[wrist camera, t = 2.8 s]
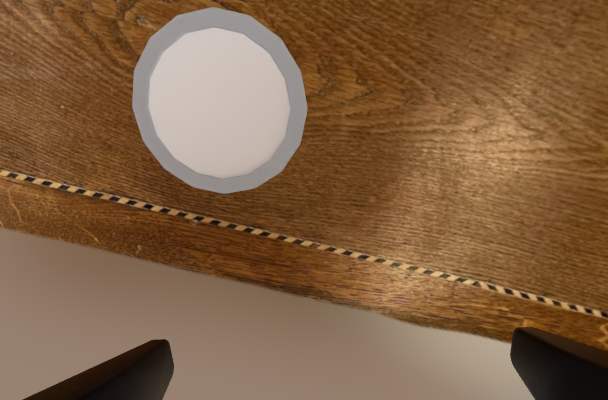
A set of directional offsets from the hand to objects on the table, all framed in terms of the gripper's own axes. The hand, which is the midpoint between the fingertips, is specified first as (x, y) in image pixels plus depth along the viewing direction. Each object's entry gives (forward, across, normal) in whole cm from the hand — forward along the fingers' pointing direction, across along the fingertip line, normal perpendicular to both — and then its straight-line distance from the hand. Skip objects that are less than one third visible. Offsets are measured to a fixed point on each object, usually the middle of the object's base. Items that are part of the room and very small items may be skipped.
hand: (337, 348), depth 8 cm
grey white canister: (+12, -4, +7) cm, 15 cm away
